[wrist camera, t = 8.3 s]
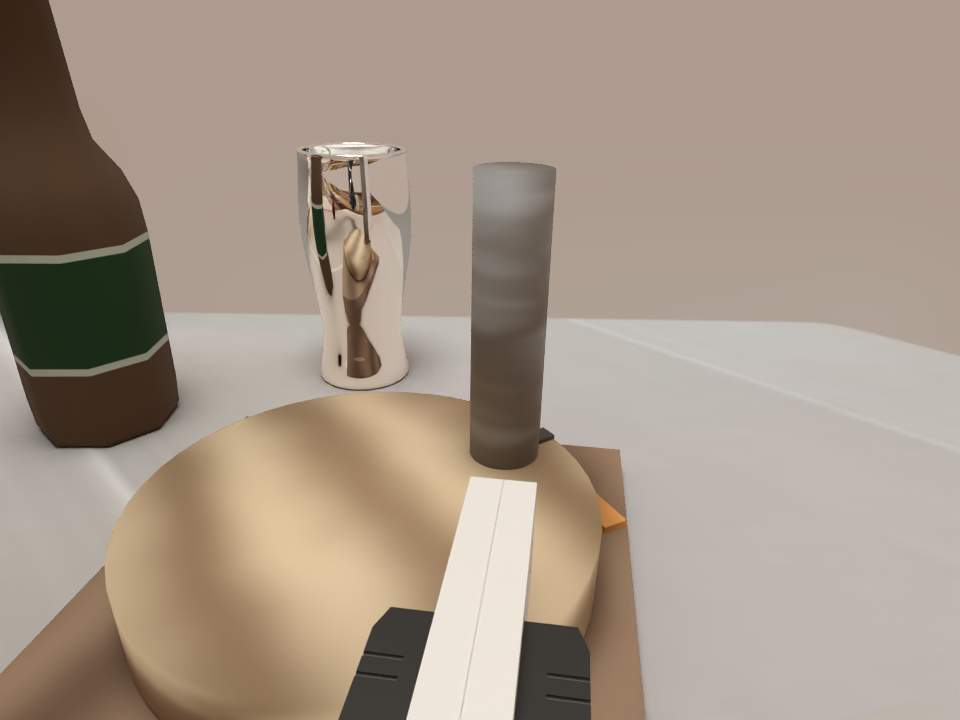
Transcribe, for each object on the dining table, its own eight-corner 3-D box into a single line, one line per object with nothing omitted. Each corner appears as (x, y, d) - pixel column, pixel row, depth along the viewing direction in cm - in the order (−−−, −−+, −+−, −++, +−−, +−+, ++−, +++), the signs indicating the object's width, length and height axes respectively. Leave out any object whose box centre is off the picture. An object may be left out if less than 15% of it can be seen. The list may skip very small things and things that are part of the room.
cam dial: (180, 926, 15) (-4, 326, 9) (96, 515, 29) (-1, 162, 23) (695, 611, 24) (778, 205, 18) (447, 411, 38) (446, 140, 32)
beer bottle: (45, 401, 41) (-85, -44, 31) (179, 380, 44) (99, -32, 34) (25, 464, 35) (-145, -69, 25) (184, 434, 38) (88, -52, 28)
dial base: (-83, 802, 19) (-101, 769, 18) (249, 434, 38) (245, 411, 37) (657, 933, 16) (664, 899, 16) (617, 468, 35) (620, 445, 35)
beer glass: (389, 344, 50) (380, 139, 44) (432, 378, 45) (429, 151, 39) (300, 363, 47) (277, 144, 41) (336, 403, 42) (315, 158, 36)
